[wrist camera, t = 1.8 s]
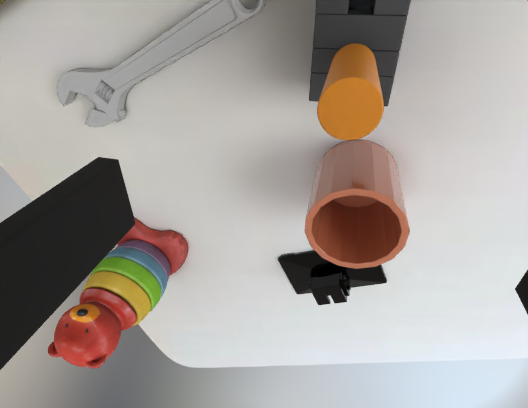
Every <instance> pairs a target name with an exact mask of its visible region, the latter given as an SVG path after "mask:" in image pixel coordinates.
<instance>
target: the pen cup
mask: <svg viewBox="0 0 528 408" xmlns="http://www.w3.org/2000/svg"><path fill="white" fill-rule="evenodd" d="M409 232H410V229H409V224H408V219H407V214H406V209H405V204H404V199H403V194H402V189H401V184H400V179H399V174H398V170H397V165H396V162H395V160H394V158H393V157H392V156H391V154H390V153H389V152H388V151H387V150H386V149H384V148H383V147H381V146H380V145H378V144H375V143H373V142H369V141H364V140H352V141H347V142H343V143H340V144H338V145H336V146H335V147H333V148H331V149H330V150H329V151H328V152H327V153H326V154H325V155H324V156H323V158H322V159H321V161H320V163H319V165H318V167H317V171H316V175H315V179H314V184H313V188H312V193H311V197H310V201H309V206H308V210H307V215H306V222H305V234H306V236H307V239H308V241H309V244H310V246H311V247H312V248H313V249H314V250H315V251H316V252H317V253H318V254H319V255H320V256H321V257H322V258H324V259H326V260H328V261H330V262H332V263H334V264H336V265H339V266H343V267H349V268H355V269H358V268H367V267H375V266H378V265H380V264H383V263H385V262H387V261H389V260H392V259H393V258H394V257H395V256H396V255H397V254H398V253H399V252H400V251H401V250H402V249H403V248H404V247H405V245H406V242H407V238H408V235H409Z"/></svg>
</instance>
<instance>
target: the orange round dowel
mask: <svg viewBox="0 0 528 408" xmlns="http://www.w3.org/2000/svg"><path fill="white" fill-rule="evenodd" d="M383 110H384V102H383V97H382V91H381V86H380V81H379V76H378V71H377V66H376V60H375V57H374V54H373V53H372V51H371V50H370V49H369V48H368V47H367V46H365V45H362V44H358V43H353V44H349V45H346V46H344V47H343V48H341V49H340V50H339V51H338V52H337V53H336V55H335V56H334V58H333V60H332V63H331V66H330V69H329V72H328V75H327V78H326V81H325V84H324V87H323V90H322V93H321V96H320V99H319V102H318V107H317V114H318V119H319V122H320V124H321V126H322V127H323V129H324V130H325V131H326V132H327V133H328V134H330V135H331V136H333V137H335V138H337V139H341V140H356V139H359V138H362V137H364V136H366V135H368V134H369V133H371V132H372V131H373V130H374V129H375V128H376V127H377V125H378V124H379V122H380V120H381V118H382V115H383Z"/></svg>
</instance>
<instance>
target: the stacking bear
mask: <svg viewBox="0 0 528 408" xmlns="http://www.w3.org/2000/svg"><path fill="white" fill-rule="evenodd" d="M134 220H135V225H134V226H133V227H132V228H131V229H130V231H129V232H128V233H127V234H126V235H125V236H124V237H123V238H122V239H121V240H120V241H119V242H118V247H116V248H115V249H114V250H112V251H111V252H110V253H108V254H107V255H106V256H105V258H104V259H103V260H102V261H101V262H100V263H99V264H98V265H97V266H96V267H95V268H94V270H93V271H92V273H91V275H90V278H89V279H88V281H87V283H86V285H85V287H84V289H83V292H82V294H81V296H80V304H79V305H77V306H74V307H72V308H71V309H69V310H68V311H67V312H65V313H64V314H63V315H62V317H61V319H60V320H59V322H58V324H57V326H56V329H55V334H54V342H52V344H50V346H49V348H48V353H49V355H50V356H52V357H60V356H61V357H62V358H63V359H65V360H66V361H68V362H69V363H71V364H73V365H76V366H80V367H90V368H98V367H100V366H102V365H103V364H104V362H105V360H106V359H107V358H108V357H109V356H110V355H111V354H112V352H113V351H114V350H115V348H116V346H117V344H118V342H119V339H120V335H121V331H122V330H125V329H128V328H130V327H132V326H135V325H137V324H138V323H139V322H140V321H141V320H143V319H144V317H145V316H146V315H147V314H148V313H149V312H150V311H151V310H152V309H153V308H154V307H155V306H156V304H157V303H158V302H159V300H160V298H161V297H162V295H163V293H164V291H165V288H166V285H167V281H168V278H169V276H170V275H172V274H173V273H175V272H176V271H177V270H178V269H179V268H180V267H181V266H182V264H183V263H184V261H185V259H186V257H187V252H188V244H187V241H186V240H185V239H184V238H183V236H182V235H180V234H178V233H176V232H174V231H156V230H152V229H150V228H148V227H146V226H145V225H143V224H142V223H141V222H140V221H138V220H137V219H135V218H134Z"/></svg>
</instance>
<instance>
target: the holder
mask: <svg viewBox="0 0 528 408" xmlns="http://www.w3.org/2000/svg"><path fill="white" fill-rule="evenodd" d="M410 1H411V0H373V1H372V7H371V10H367V9H349V8H350V0H317V1H316V15H315V27H314V41H313V53H312V66H311V80H310V93H309V101H318V102H319V99H320V96H321V93H322V90H323V87H324V84H325V81H326V78H327V75H328V72H329V69H330V66H331V63H332V60H333V58H334V56H335V55H336V53H337V52H338V51H339V50H340V49H341V48H343V47H344V46H346V45H349V44H353V43H358V44H362V45H365V46H367V47H368V48H369V49H370V50H371V51H372V53H373V54H374V57H375V60H376V66H377V71H378V76H379V81H380V86H381V91H382V97H383V102H384V106H388V103H389V98H390V94H391V89H392V84H393V80H394V75H395V71H396V66H397V61H398V57H399V51H400V47H401V43H402V38H403V33H404V29H405V24H406V19H407V16H406V15H408V10H409V6H410Z"/></svg>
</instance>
